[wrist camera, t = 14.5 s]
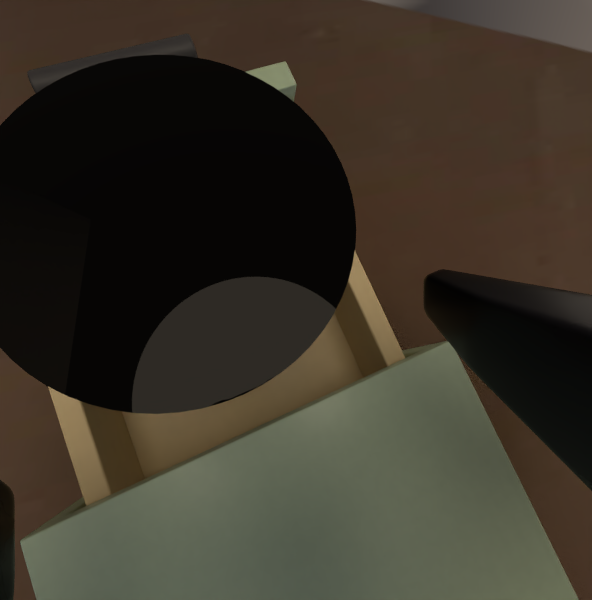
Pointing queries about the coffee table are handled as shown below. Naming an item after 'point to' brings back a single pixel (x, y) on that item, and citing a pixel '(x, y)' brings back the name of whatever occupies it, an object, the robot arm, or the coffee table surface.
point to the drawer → (241, 410)
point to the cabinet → (321, 508)
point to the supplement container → (167, 234)
